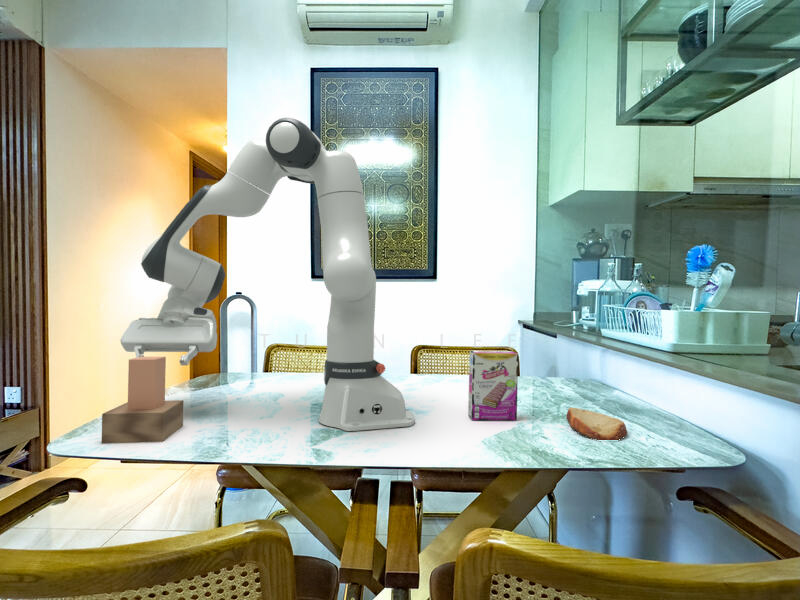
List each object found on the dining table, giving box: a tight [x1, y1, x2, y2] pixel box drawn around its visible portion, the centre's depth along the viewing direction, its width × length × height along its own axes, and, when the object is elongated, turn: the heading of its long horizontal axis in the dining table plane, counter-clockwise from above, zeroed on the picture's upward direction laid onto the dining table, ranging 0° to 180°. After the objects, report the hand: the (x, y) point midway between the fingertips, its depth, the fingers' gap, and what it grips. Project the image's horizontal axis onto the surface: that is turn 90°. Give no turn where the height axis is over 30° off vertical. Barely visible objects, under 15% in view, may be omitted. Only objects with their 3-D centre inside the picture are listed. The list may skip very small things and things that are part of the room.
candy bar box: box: [467, 350, 519, 421], centre depth 104 cm, size 11×5×16 cm, turn 92°
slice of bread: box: [566, 407, 628, 441], centre depth 98 cm, size 18×18×4 cm
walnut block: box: [101, 399, 184, 445], centre depth 88 cm, size 11×11×6 cm
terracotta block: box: [127, 356, 167, 410], centre depth 88 cm, size 5×5×10 cm
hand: (161, 363), depth 96 cm, fingers open, 8 cm apart
